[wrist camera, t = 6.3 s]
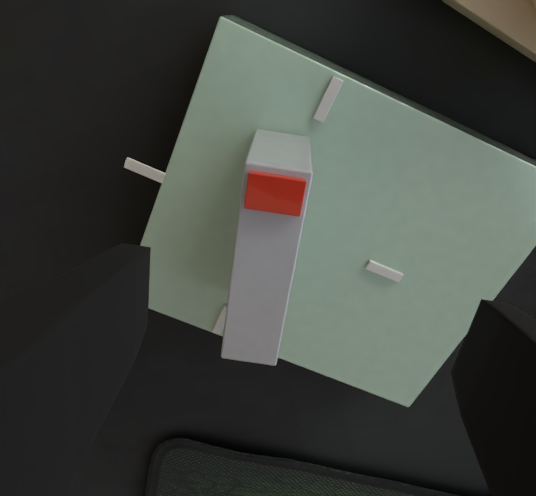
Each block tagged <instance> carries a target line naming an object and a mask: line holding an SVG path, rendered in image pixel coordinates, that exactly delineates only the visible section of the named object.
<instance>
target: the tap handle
mask: <svg viewBox="0 0 536 496" xmlns="http://www.w3.org/2000/svg"><path fill="white" fill-rule="evenodd" d="M312 178H313V166H312V155H311V145H310V137H308V136H302V135H295V134H289V133H282V132H276V131H269V130H263V129H256V131H255V133H254V136H253V139H252V142H251V145H250V148H249V151H248V154H247V157H246V160H245V163H244V171H243V179H242V187H241V195H240V203H239V211H238V219H237V227H236V235H235V243H234V252H233V260H232V268H231V276H230V284H229V292H228V300H227V308H226V316H225V324H224V332H223V341H222V349H221V358H224V359H231V360H238V361H245V362H251V363H258V364H265V365H272V366H276V364H277V360H278V354H279V349H280V344H281V339H282V334H283V329H284V323H285V318H286V313H287V308H288V303H289V297H290V292H291V287H292V282H293V277H294V271H295V266H296V261H297V256H298V251H299V245H300V240H301V235H302V230H303V225H304V220H305V214H306V209H307V204H308V199H309V194H310V188H311V183H312Z"/></svg>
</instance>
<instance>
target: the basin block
mask: <svg viewBox="0 0 536 496" xmlns="http://www.w3.org/2000/svg"><path fill="white" fill-rule="evenodd" d="M256 129H263V130H269V131H276V132H282V133H289V134H295V135H302V136H308V137H310V145H311V155H312V166H313V178H312V183H311V188H310V194H309V199H308V204H307V209H306V214H305V220H304V225H303V230H302V235H301V240H300V245H299V251H298V256H297V261H296V266H295V271H294V277H293V282H292V287H291V292H290V297H289V303H288V308H287V313H286V318H285V323H284V329H283V334H282V339H281V344H280V349H279V354H278V358H280V359H283V360H286V361H288V362H291V363H293V364H296V365H299V366H301V367H304V368H307V369H309V370H312V371H314V372H317V373H320V374H322V375H325V376H328V377H330V378H333V379H335V380H338V381H341V382H343V383H346V384H348V385H351V386H354V387H356V388H359V389H362V390H364V391H367V392H369V393H372V394H375V395H377V396H380V397H383V398H385V399H388V400H390V401H393V402H396V403H398V404H401V405H404V406H406V407H410V405H411V404H412V403H413V402H414V400H415V399H416V398H417V396H418V395H419V394H420V393H421V391H422V390H423V389H424V388H425V386H426V385H427V384H428V382H429V381H430V380H431V379H432V377H433V376H434V375H435V373H436V372H437V371H438V370H439V368H440V367H441V366H442V365H443V363H444V362H445V361H446V359H447V358H448V357H449V356H450V354H451V353H452V352H453V351H454V349H455V348H456V347H457V345H458V344H459V343H460V342H461V340H462V339H463V338H464V337H465V335H466V334H467V333H468V330H469V328H470V325H471V323H472V320H473V318H474V316H475V313H476V311H477V308H478V306H479V304H480V301H481V299H484V300H490V301H493V300H494V298H495V297H496V296H497V294H498V293H499V292H500V291H501V289H502V288H503V287H504V286H505V284H506V283H507V282H508V280H509V279H510V278H511V277H512V275H513V274H514V273H515V272H516V270H517V269H518V268H519V266H520V265H521V264H522V263H523V261H524V260H525V259H526V258H527V256H528V255H529V254H530V252H531V251H532V250H533V249H534V247H535V246H536V160H535V159H533V158H531V157H529V156H527V155H525V154H522V153H520V152H518V151H516V150H514V149H512V148H510V147H508V146H506V145H504V144H502V143H499V142H497V141H495V140H493V139H491V138H489V137H487V136H485V135H483V134H481V133H479V132H477V131H474V130H472V129H470V128H468V127H466V126H464V125H462V124H460V123H458V122H456V121H454V120H451V119H449V118H447V117H445V116H443V115H441V114H439V113H437V112H435V111H433V110H431V109H429V108H426V107H424V106H422V105H420V104H418V103H416V102H414V101H412V100H410V99H408V98H406V97H403V96H401V95H399V94H397V93H395V92H393V91H391V90H389V89H387V88H385V87H383V86H381V85H378V84H376V83H374V82H372V81H370V80H368V79H366V78H364V77H362V76H360V75H358V74H355V73H353V72H351V71H349V70H347V69H345V68H343V67H341V66H339V65H337V64H335V63H333V62H330V61H328V60H326V59H324V58H322V57H320V56H318V55H316V54H314V53H312V52H310V51H308V50H305V49H303V48H301V47H299V46H297V45H295V44H293V43H291V42H289V41H287V40H285V39H282V38H280V37H278V36H276V35H274V34H272V33H270V32H268V31H266V30H264V29H262V28H260V27H257V26H255V25H253V24H251V23H249V22H247V21H245V20H243V19H241V18H239V17H237V16H234V15H228V16H220V18H219V20H218V23H217V26H216V29H215V32H214V34H213V37H212V40H211V43H210V46H209V49H208V52H207V55H206V57H205V60H204V63H203V66H202V69H201V72H200V75H199V77H198V80H197V83H196V86H195V89H194V92H193V95H192V97H191V100H190V103H189V106H188V109H187V112H186V115H185V118H184V120H183V123H182V126H181V129H180V132H179V135H178V138H177V140H176V143H175V146H174V149H173V152H172V155H171V158H170V161H169V163H168V166H167V169H166V172H165V173H164V172H162V171H160V170H157V169H155V168H153V167H150V166H148V165H145V164H143V163H141V162H138V161H136V160H134V159H131V158H129V157H127V158H126V161H125V164H124V168H126V169H129V170H131V171H134V172H136V173H138V174H141V175H143V176H145V177H148V178H150V179H153V180H155V181H157V182H160V183H161V186H160V189H159V192H158V195H157V198H156V201H155V204H154V206H153V209H152V212H151V215H150V218H149V221H148V224H147V226H146V229H145V232H144V235H143V238H142V241H141V244H140V246H145V247H151V253H150V279H149V304H148V308H149V309H152V310H154V311H157V312H160V313H162V314H165V315H168V316H170V317H173V318H175V319H178V320H181V321H183V322H186V323H189V324H191V325H194V326H196V327H199V328H202V329H204V330H207V331H209V332H212V333H215V334H217V335H220V336H223V332H224V324H225V316H226V308H227V300H228V292H229V284H230V276H231V268H232V260H233V252H234V243H235V235H236V227H237V219H238V211H239V203H240V195H241V187H242V179H243V171H244V163H245V160H246V157H247V154H248V151H249V148H250V145H251V142H252V139H253V136H254V133H255V131H256Z"/></svg>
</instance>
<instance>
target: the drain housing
mask: <svg viewBox="0 0 536 496" xmlns="http://www.w3.org/2000/svg"><path fill="white" fill-rule="evenodd" d="M441 1H443V2H444V3H446V4H447V5H449V6H450V7H452V8H453V9H455V10H456V11H458V12H459V13H461V14H463V15H464V16H466V17H467V18H469V19H470V20H472V21H473V22H475V23H476V24H478V25H479V26H481V27H482V28H484V29H485V30H487V31H488V32H490V33H491V34H493V35H495V36H496V37H498V38H499V39H501V40H502V41H504V42H505V43H507V44H508V45H510V46H511V47H513V48H514V49H516V50H517V51H519V52H520V53H522V54H523V55H525V56H527V57H528V58H530V59H531V60H533V61H534V62H536V0H441Z"/></svg>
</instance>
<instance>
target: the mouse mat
mask: <svg viewBox="0 0 536 496" xmlns="http://www.w3.org/2000/svg"><path fill="white" fill-rule="evenodd" d="M144 496H461V495H456V494H451V493H447V492H442V491H437V490H433V489H428V488H423V487H419V486H415V485H411V484H406V483H402V482H398V481H394V480H393V481H391V480H389V479H382V478H377V477H372V476H367V475H362V474H357V473H352V472H348V471H343V470H339V469H334V468H329V467H325V466H321V465H317V464H311V463H308V462H302V461H297V460H293V459H286V458H278V457H269V456H264V455H255V454H249V453H243V452H238V451H234V450H229V449H225V448H221V447H217V446H214V445H210V444H206V443H203V442H199V441H195V440H191V439H188V438H180V437H177V438H171V439H168V440H165V441H163V442H161V443H160V444H159V445H158V446H157V447H156V448H155V449H154V452H153V454H152V457H151V460H150V462H149V468H148V474H147V483H146V487H145V494H144Z"/></svg>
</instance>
